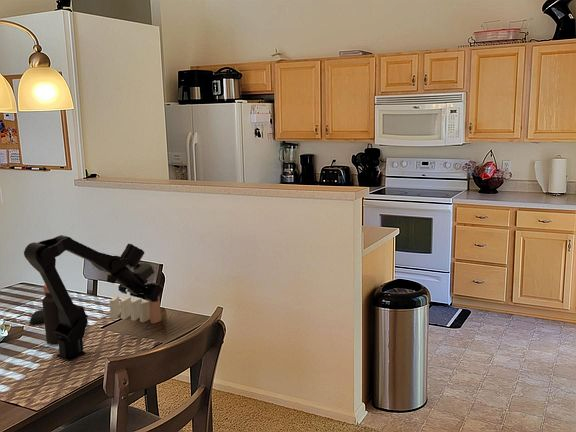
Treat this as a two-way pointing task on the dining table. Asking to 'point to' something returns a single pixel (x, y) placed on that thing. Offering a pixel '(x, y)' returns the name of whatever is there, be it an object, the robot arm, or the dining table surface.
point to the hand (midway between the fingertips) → (154, 299)
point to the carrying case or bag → (37, 317)
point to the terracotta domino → (155, 311)
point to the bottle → (50, 317)
